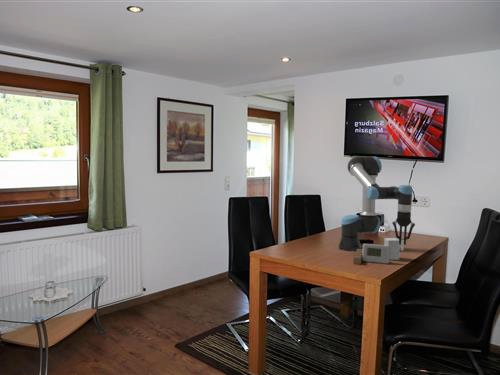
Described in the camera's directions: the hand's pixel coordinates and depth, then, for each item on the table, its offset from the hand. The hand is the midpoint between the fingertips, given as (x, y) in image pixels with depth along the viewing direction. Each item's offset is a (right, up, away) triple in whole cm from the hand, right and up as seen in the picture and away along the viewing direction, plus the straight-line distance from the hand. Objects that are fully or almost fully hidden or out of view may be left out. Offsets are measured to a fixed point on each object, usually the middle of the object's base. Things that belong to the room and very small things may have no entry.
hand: (402, 249), depth 238 cm
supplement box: (-2, -8, +13) cm, 16 cm away
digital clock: (-15, -9, +5) cm, 17 cm away
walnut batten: (-23, -8, +10) cm, 27 cm away
